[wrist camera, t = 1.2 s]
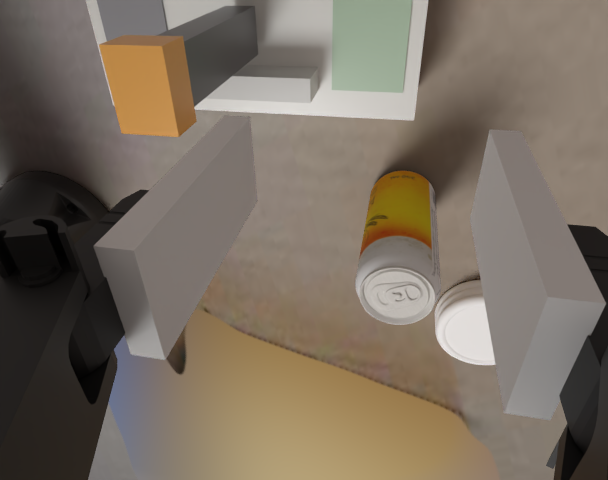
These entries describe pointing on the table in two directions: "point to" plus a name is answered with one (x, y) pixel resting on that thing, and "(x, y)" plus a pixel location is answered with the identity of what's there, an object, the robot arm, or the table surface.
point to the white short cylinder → (464, 324)
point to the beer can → (400, 250)
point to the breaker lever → (176, 69)
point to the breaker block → (300, 53)
